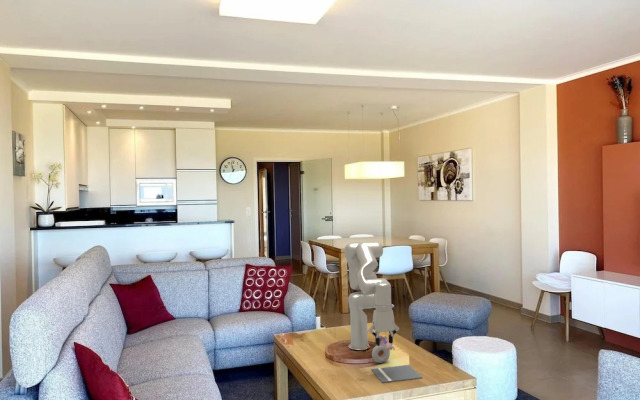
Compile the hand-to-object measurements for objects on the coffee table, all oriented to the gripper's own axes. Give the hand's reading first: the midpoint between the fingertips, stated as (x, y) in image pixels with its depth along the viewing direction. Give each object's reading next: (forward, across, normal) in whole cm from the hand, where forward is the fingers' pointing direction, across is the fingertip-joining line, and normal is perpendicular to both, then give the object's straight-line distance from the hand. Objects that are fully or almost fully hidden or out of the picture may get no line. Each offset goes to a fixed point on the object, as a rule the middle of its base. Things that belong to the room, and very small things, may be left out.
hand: (384, 344), depth 231 cm
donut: (+16, -3, -16) cm, 22 cm away
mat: (+15, -6, 0) cm, 16 cm away
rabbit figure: (+1, 0, +1) cm, 1 cm away
